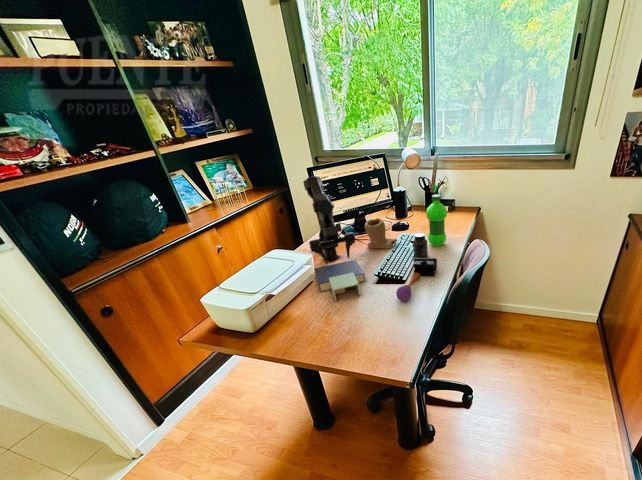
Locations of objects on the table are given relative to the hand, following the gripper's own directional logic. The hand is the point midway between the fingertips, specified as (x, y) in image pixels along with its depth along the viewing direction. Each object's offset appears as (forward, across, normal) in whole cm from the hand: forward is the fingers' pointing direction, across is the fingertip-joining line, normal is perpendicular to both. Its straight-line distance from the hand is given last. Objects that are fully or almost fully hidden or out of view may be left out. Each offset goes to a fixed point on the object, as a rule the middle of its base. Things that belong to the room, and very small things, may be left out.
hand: (338, 260), depth 134 cm
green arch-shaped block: (+7, 0, +7) cm, 10 cm away
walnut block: (+9, +2, +6) cm, 11 cm away
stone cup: (-14, +27, +33) cm, 45 cm away
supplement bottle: (+2, +41, +17) cm, 44 cm away
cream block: (+9, -2, +6) cm, 11 cm away
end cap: (+12, +37, +6) cm, 39 cm away
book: (+3, 0, +16) cm, 16 cm away
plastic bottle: (-6, +55, +25) cm, 61 cm away
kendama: (+20, +25, -2) cm, 32 cm away
